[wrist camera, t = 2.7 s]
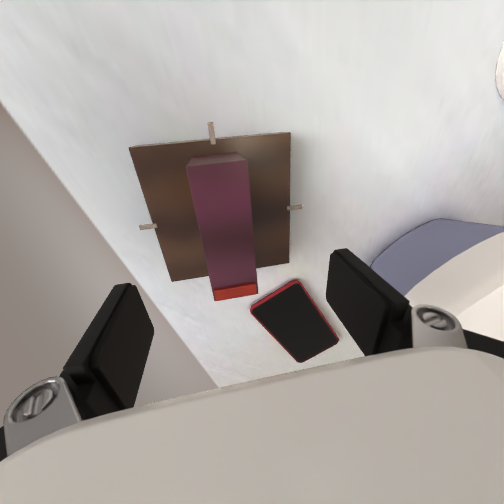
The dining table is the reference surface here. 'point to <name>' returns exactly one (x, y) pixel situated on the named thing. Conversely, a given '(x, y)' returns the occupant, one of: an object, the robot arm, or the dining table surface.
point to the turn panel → (182, 207)
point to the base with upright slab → (500, 73)
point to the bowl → (451, 271)
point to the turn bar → (225, 222)
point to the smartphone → (295, 321)
